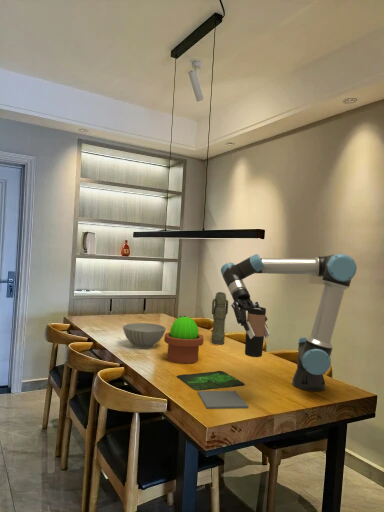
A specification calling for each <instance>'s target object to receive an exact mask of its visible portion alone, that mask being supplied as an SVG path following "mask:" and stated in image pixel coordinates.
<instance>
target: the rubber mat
mask: <svg viewBox="0 0 384 512" xmlns="http://www.w3.org/2000/svg"><path fill="white" fill-rule="evenodd" d="M197 394H198V396H199V398H200V399H201V401H202V403H203V405H204V406H205V408H206V409H208V410H213V409H215V410H216V409H217V410H218V409H219V410H220V409H249V407H250V406H249V405H248V404H247V403H246V401H245V400H244V399H243V398H242V397H241V395H239V393H238V392H237V391H236V390H201V391H197Z"/></svg>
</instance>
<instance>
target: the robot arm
mask: <svg viewBox="0 0 384 512" xmlns="http://www.w3.org/2000/svg"><path fill="white" fill-rule="evenodd" d="M357 267H358V266H357V263H356V262H355V260H354V259H353V258H352V257H351V256H350V255H348V254H345V253H336V254H330V255H325V256H323V255H322V256H316V257H315V258H298V257H297V258H295V257H294V258H291V257H289V258H288V257H287V258H286V257H285V258H283V257H282V258H281V257H279V258H276V257H273V258H272V257H268V258H267V257H260V255H259V254H257V253H256V254H253V255H251V256H250V257H247V258H246V259H243V260H242V261H240V262H239V263H236V264H235V263H234V262H227V263H225V264H224V265H222V266H221V268H220V273H221V276H222V278H223V281H224V283H225V285H226V287H227V288H228V291H229V294H230V296H231V298H232V300H233V303H231V305H230V306H231V308H232V310H233V313H234V315H235V319H236V322H237V325H239V324H240V326H241V327H243V328H244V330H245V332H246V331H247V333H248V335H249V337H250V339H252V338H253V337H254V336H255V334H254V332H253V330H252V328H251V325H250V323H249V322H247V312H248V307H250V306H254V307H260V304H259V302H258V301H255V302H253V300H252V299H251V295H250V293H249V290H248V289H247V287H246V284H245V282H244V280H245V279H246V278H247V277H250V276H252V275H254V274H270V275H271V274H273V275H274V274H277V275H278V274H279V275H288V274H289V275H315V276H316V277H319V278H320V277H321V278H322V280H321V281H322V283H323V284H324V287H323V290H322V293H321V297H320V301H319V304H318V308H317V311H316V315H315V319H314V323H313V326H312V330H311V334H310V336H308V337H300V338H299V339H298V343H297V344H298V348H297V364H296V370H295V373H294V375H293V377H292V383H291V384H292V385H293V386H294V387H295V388H297V389H301V390H304V391H309V392H322V391H324V390H326V382H325V378H324V374H325V373H327V371H329V370H330V368H331V362H332V361H331V355H332V351H333V348H334V347H333V345H332V343H331V341H332V337H333V334H334V330H335V326H336V324H337V323H336V322H337V319H338V315H339V311H340V308H341V304H342V300H343V297H344V293H345V291H346V290H347V289H349V288H350V286H351V281H352V279H353V278H354V277H355V275H356V273H357ZM267 321H268V317H267V316H265V331H264V339H267V338H268V337H270V335H271V333H270V331H269V329H268V325H267V324H266V322H267Z"/></svg>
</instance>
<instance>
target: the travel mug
mask: <svg viewBox="0 0 384 512" xmlns="http://www.w3.org/2000/svg"><path fill="white" fill-rule="evenodd" d="M266 315H267V308H265V307H261V306H259V307H254V306H250V307H248V311H247V314H246V318H247V322H249V323H250V325H251V328H252V330H253V332H254V334H255V336H254V337H253V338H252V339H250V337H249V335H248V333H247V331H246V330H245V343H244V345H245V347H244V355H245V356H247V357H252V358H261V357H262V356H263V349H264V339H265V336H264V331H265V323H266V322H265V316H266ZM266 317H267V316H266Z"/></svg>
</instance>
